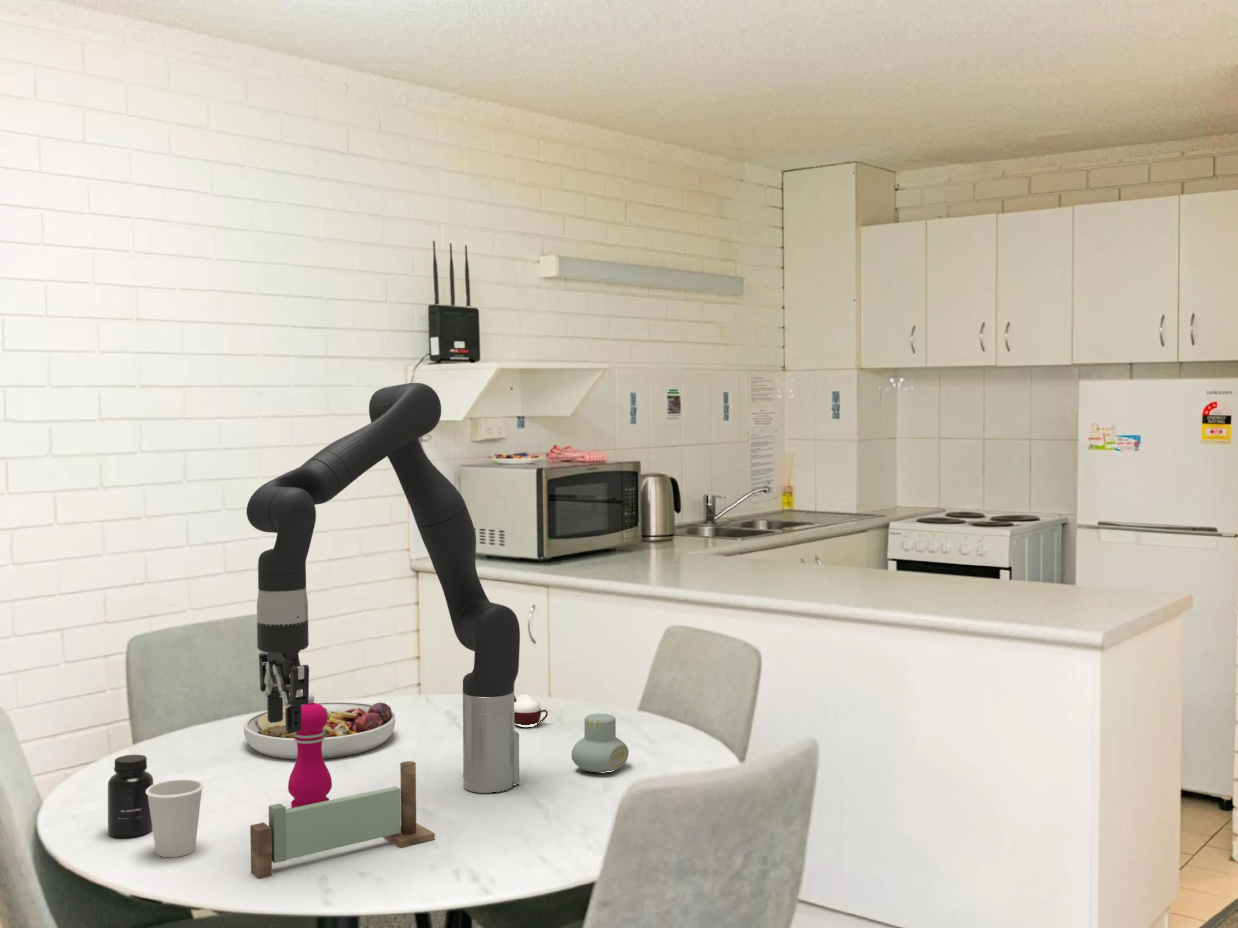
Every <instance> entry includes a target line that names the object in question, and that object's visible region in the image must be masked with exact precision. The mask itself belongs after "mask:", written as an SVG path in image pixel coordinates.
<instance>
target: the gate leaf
mask: <svg viewBox="0 0 1238 928" xmlns="http://www.w3.org/2000/svg"><path fill="white" fill-rule="evenodd" d="M268 826H269V827H271V841H272V863H273V864H277V863H281V862H286V861H288V860H292V859H295V858H300V857H305V856H308V855H313V854H316V853H320V852H321V853H322V852H325V851H326V852H327V851H330V850H334V849H337V848H342V847H346V846H351V845H355V844H358V843H359V844H360V843H363V842H366V841H372V840H377V839H380V838H384V837H385V836H389V835H393V834H398V833H401V787H398V786H390V787H386V788H382V789H381V788H380V789H376V790H372V791H366V792H362V793H357V794H353V795H347V796H343V797H339V798H334V799H329V800H328V801H323V802H319V803H314V804H309V805H304V806H300V807H295V808H291V807H290V808H286V806H285V805H284V804H282V803H275V804H271V805H269V806H268Z"/></svg>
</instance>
